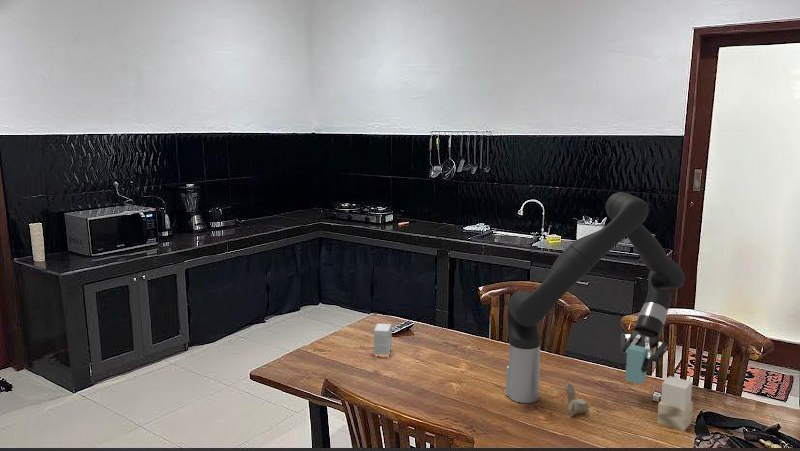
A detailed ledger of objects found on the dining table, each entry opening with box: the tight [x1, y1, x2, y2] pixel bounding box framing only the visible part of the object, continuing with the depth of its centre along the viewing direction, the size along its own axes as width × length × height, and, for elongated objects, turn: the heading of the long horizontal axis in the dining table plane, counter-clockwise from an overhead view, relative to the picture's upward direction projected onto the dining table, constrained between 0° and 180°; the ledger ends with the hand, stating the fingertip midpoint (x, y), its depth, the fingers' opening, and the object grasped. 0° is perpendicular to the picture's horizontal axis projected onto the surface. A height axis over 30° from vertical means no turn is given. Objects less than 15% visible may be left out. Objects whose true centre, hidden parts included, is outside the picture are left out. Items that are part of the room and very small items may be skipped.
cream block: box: [660, 375, 693, 410], centre depth 158 cm, size 6×6×6 cm
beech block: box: [656, 400, 694, 432], centre depth 159 cm, size 7×7×6 cm
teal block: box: [625, 345, 647, 385], centre depth 170 cm, size 4×4×10 cm
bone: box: [565, 382, 590, 417], centre depth 165 cm, size 9×6×10 cm
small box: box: [373, 323, 393, 354], centre depth 212 cm, size 8×6×10 cm
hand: (634, 368), depth 169 cm, fingers closed on teal block, 4 cm apart
